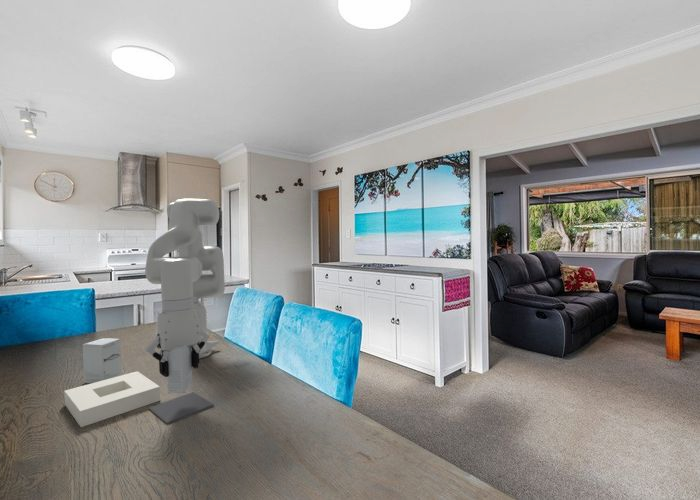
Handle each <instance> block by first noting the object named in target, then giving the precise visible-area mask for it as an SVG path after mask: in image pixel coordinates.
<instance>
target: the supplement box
mask: <svg viewBox="0 0 700 500" xmlns="http://www.w3.org/2000/svg"><path fill="white" fill-rule="evenodd" d="M121 351H122V350H121V338H111V337H110V338H108V337H106V338H104V337H103V338H100V339H99V338H98V339H96V340H93V341H90V342H85V343H84V344H83V343H82V357H83V358H82V364H83V384H84V383H85V384H91V383H95V382H99V381H103V380H106V379H110V378H114V377H117V376H121V375H122V357H121V355H122V354H121Z"/></svg>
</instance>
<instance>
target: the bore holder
mask: <svg viewBox="0 0 700 500" xmlns="http://www.w3.org/2000/svg"><path fill="white" fill-rule="evenodd" d="M159 401H161V386H160V385H159V384H157V383H155V382H154V381H153V380H151V379H149V378H148V377H147V376H145V375H144V374H142V373H141V372H139V371H134V372H133V371H132V372H129V373H125V374H121V376H117V377H114V378H110V379H106V380H103V381H99V382H95V383H87V384H84V385H81V386H77V387H73V388H69V389H65V390H64V405H65V407H66V408H67V410H68V411H69V413H70V414H71V415H72V417H73V419H75V421H76V422H77V424H78V425H79V426H80V428H84V427H86V426H89V425H92V424H96V423H98V422H101V421H104V420H107V419H109V418H112V417H116V416H119V415H121V414H125V413H128V412H131V411H133V410H136V409H139V408H142V407H145V406H147V405H151V404H154V403H157V402H159Z"/></svg>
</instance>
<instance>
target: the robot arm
mask: <svg viewBox="0 0 700 500" xmlns="http://www.w3.org/2000/svg"><path fill="white" fill-rule="evenodd" d="M219 209H220V208H219V206H218V204H217V203H216V201H214V200H212V199H208V198H207V199H206V198H181V199H176V200H175V201H174V202H170V203H168V204H167V207H166V214H167V217H168V219H169V221H168V228H167V229H168V230H167V231H166V232H164V233H163V234H161V235H159V237H158V238H156V239H155V240H154V241H153V242H152V243H151V245H150V247H149V249H148V250H147V255H146V261H145V277H146V280H147V281H148V282H149V283H150V284H154V285H160V286H161V287H160V290H161V293H160V294H161V311H159V312H158V314H157V317H156V318H157V319H156V324H155V339H153V340H152V341H151V342H150V344H148V345H147V346H146V347H145V349H144V350H145V351H146V353H148V354H149V356H151V357H153V358H155V359H156V360H157V361H158V368H159V370H158V371H159V373H160V375H161V376H163V377H165V378H168V376H169V365H168V361H167V357H168V355H169V352H170V351H171V350H173V349H174V348H176V347H180V346H187V347H188V346H191V356H192V368H194V369H198V368H199V364H200V359H202V358H206V357H208V356H210V355H211V354H212V352H213V351H212V347H216V346H219V345H220V341H219V340H210V341H209V338H210V335H209V334H208V325H207V324H208V321H207V320H208V319H207V309H206V306H205V305H204V303H203V302H202V301H200V299H209V298H210V299H211V298H219V297H223V295H224V294H225V288H226V285H225V284H226V283H225V281H226V280H225V279H226V278H225V262H224V261H225V260H224V253H223V249H221V247H219V246H213V245H210V246H209V245H206V246H204V244H203V233H202V231H201V230H200V229H199V226H215V225H217V224H218V222H219V219H220V210H219ZM176 251H178V256H166V255H168V254H170V253H172V252H176ZM205 271H209V272H211V273H203V272H205ZM156 348H157V349H160V350H159V353H158V352H157V351H156V350H155V349H156Z"/></svg>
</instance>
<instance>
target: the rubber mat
mask: <svg viewBox="0 0 700 500" xmlns="http://www.w3.org/2000/svg"><path fill="white" fill-rule="evenodd" d="M213 407H215V404H214V403H212V402H211V401H209V400H207V399H206V398H204V397H202V396H200V395H199V394H197V393H196V392H195V391H193V392H190V393H186V394H183V395H181V396H178V397H175V398H172V399H169V400H166V401H164V402H160V403H158V404H154V405H152V406H149V407H148V411H150V412H151V413H153V414H154V415H155V416H156V417H157V418H159V419H160V420H161V421H162V422H163V423H164V424H166V425H169V424H172V423H174V422H176V421H177V422H178V421H179V420H183V419H184V418H187V417H189V416H192V415H195V414H198V413H200V412H203V411H205V410H208V409H210V408H213Z"/></svg>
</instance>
